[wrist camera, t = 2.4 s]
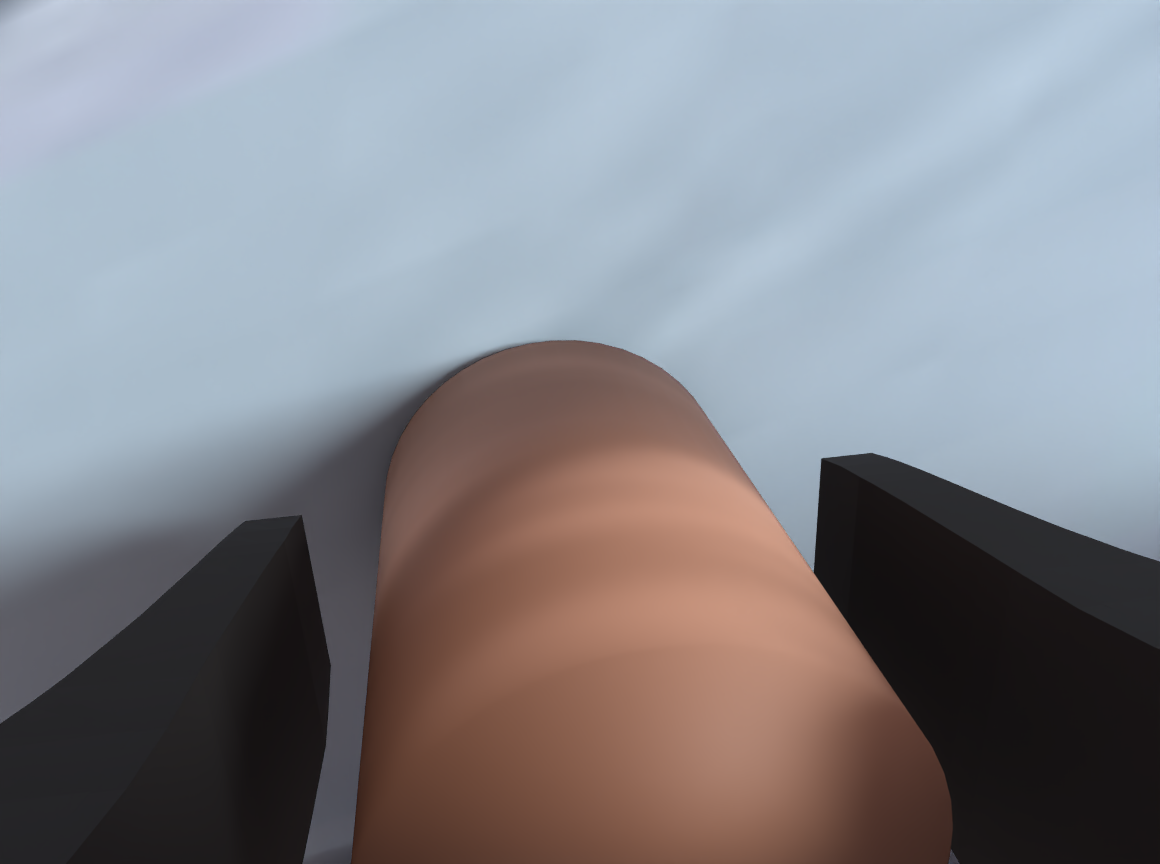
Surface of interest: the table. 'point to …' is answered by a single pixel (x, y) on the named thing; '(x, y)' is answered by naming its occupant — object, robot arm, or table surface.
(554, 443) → the brown rounded cylinder
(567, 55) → the table surface
